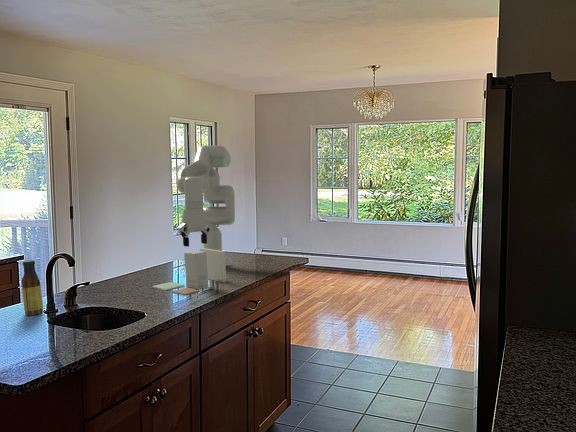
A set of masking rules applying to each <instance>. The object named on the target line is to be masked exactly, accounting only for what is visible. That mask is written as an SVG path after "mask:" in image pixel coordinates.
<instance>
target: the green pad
mask: <svg viewBox="0 0 576 432" xmlns="http://www.w3.org/2000/svg"><path fill="white" fill-rule="evenodd" d="M151 287H152V288H153V289H156V290H162V291H164V292H165V291H171V290H174V289H178V288H185V284H183V283H182V284H181V283H177V282H173V281H170V282H169V281H168V282H165V283H160V284H156V285H152V286H151Z"/></svg>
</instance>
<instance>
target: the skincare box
mask: <svg viewBox="0 0 576 432" xmlns="http://www.w3.org/2000/svg"><path fill="white" fill-rule="evenodd" d="M183 255H184V256H183V257H184V267H185V280H186V281H185V282H186V288H192V289H196V290H199V289H200V290H201V289H203V288H207V287H209V279H208V271H207V256H206V252H203V251H200V250H191V251H186V252H184V253H183Z"/></svg>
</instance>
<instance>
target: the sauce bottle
mask: <svg viewBox="0 0 576 432" xmlns="http://www.w3.org/2000/svg"><path fill="white" fill-rule="evenodd" d="M35 264H36V261H35V260H34V259H28V260H22V266H23V277H22V279H21V289H22V290H21V291H22V292H21V293H22V300H23V309H24V314H25V316H36V314H38V315H40V314H43V312H44V310H43V309H44V304H43V295H42V293H43V292H42V287H41V286H42V285H41V281H40V278H39V276H38V274H37V272H36V268H35V267H36V266H35Z"/></svg>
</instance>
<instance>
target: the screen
mask: <svg viewBox="0 0 576 432" xmlns="http://www.w3.org/2000/svg"><path fill="white" fill-rule="evenodd" d="M199 251H203V252H206V256H207V271H208V280H210V281H214V282H215V281H216V282H217V283H227V281H228V280H227V279H228V278H227V272H226V271H227V270H226V269H227V267H226V266H227V265H226V262H225V258H226V251H224V250H222V251H219V250H212V249H206V248H203V247H201V248H199Z"/></svg>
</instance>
